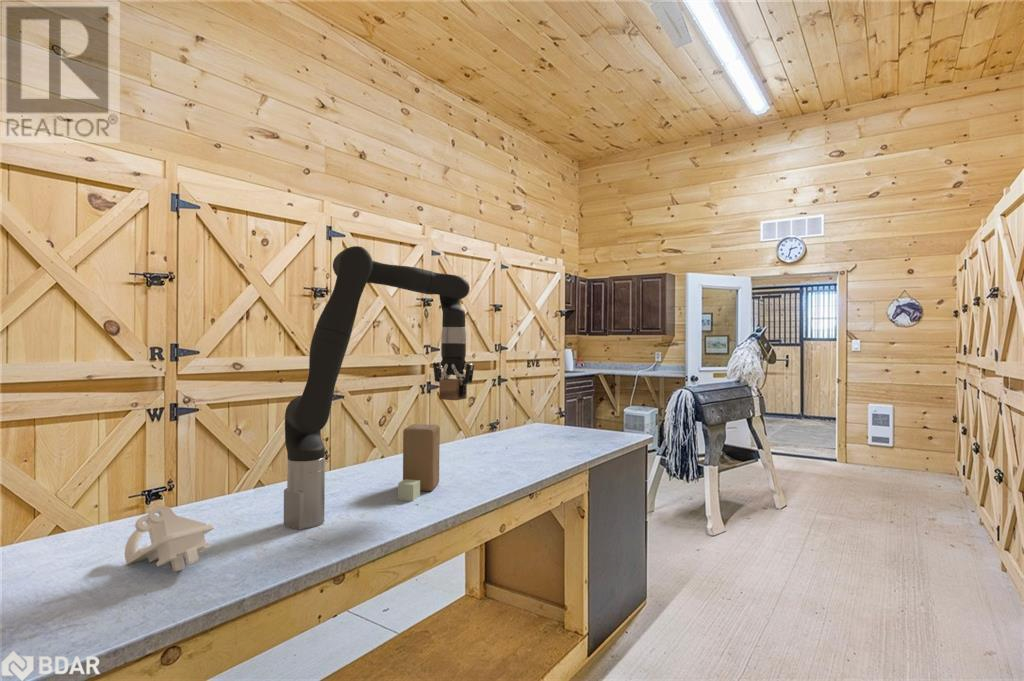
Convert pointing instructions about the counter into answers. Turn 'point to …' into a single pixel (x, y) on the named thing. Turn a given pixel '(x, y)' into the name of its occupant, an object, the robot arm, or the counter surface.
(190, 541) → the beige angular piece
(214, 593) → the counter surface
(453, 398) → the walnut cube
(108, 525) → the counter surface
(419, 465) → the wooden block
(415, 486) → the sage cube
